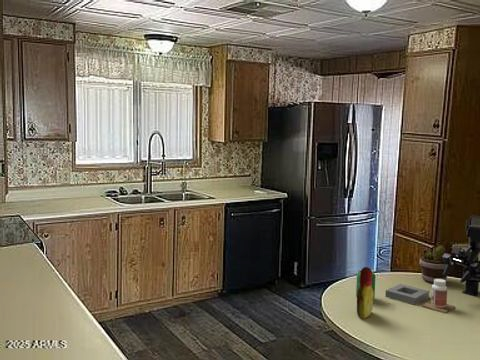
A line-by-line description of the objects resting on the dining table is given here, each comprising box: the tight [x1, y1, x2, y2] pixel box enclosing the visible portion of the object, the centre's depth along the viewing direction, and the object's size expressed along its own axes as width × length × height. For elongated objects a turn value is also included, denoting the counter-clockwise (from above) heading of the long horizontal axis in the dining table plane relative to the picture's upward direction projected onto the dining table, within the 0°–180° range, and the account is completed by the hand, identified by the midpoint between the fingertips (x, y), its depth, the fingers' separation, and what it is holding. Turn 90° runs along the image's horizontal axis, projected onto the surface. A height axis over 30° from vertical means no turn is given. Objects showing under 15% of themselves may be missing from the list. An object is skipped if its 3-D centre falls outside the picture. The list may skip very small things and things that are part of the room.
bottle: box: [356, 266, 374, 319], centre depth 197 cm, size 12×6×20 cm, turn 154°
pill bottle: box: [430, 279, 448, 308], centre depth 209 cm, size 6×6×11 cm
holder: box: [385, 283, 430, 306], centre depth 221 cm, size 14×14×3 cm
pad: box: [421, 300, 456, 314], centre depth 209 cm, size 10×10×1 cm
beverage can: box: [355, 270, 376, 300], centre depth 217 cm, size 8×8×12 cm
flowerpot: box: [418, 244, 448, 285], centre depth 245 cm, size 14×15×20 cm
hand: (452, 278), depth 212 cm, fingers open, 9 cm apart
